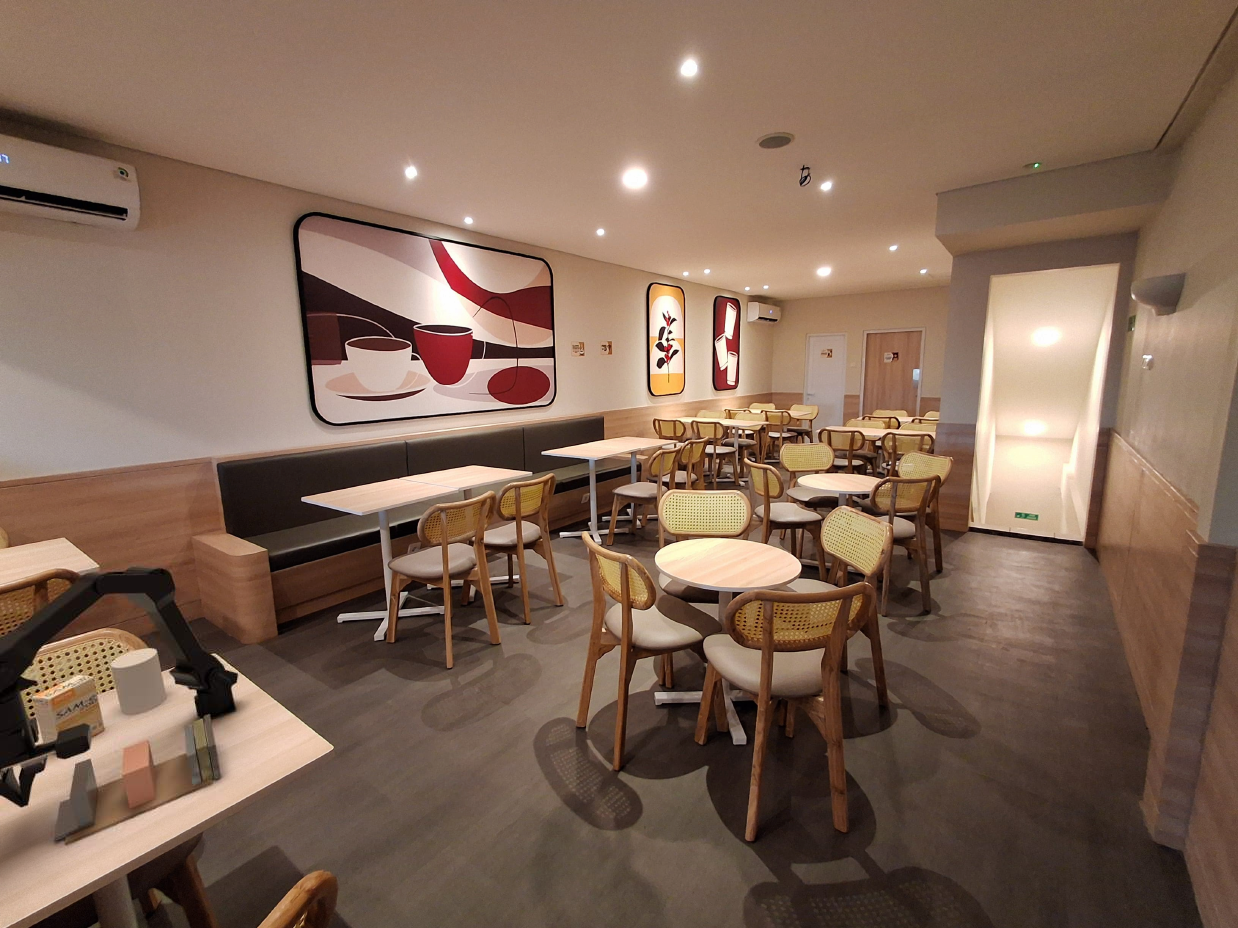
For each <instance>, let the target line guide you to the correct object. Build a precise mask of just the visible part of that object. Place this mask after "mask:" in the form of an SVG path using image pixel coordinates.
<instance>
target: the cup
mask: <svg viewBox="0 0 1238 928" xmlns="http://www.w3.org/2000/svg"><path fill="white" fill-rule="evenodd" d="M110 662H111V663H110V668H111V672H112V673H111V674H112V677H113V678H112V679H113V681H114V685H115V690H116V695H117V697H118V702H119V707H120V712H121V714H123V715H126V716H128V715H129V716H131V715H139V714H142V713H146V712H147V711H151V710H152V709H155V708H156V707H158V706H160V705H162V704H163V703H164V702H165V700H166V699H167V692H166V688H165V687H166V686H165V683H164V678H163V674H162V669H161V664H160V660H159V655H158V651H157V648H149V647H148V648H147V647H146V648H140V649H136V650H133V651H130V652H126V653H125V654H121V655H120V656H118V657H117V658H115V659H113V660H112V661H110Z"/></svg>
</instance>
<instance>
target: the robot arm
mask: <svg viewBox="0 0 1238 928" xmlns="http://www.w3.org/2000/svg"><path fill="white" fill-rule="evenodd" d="M176 590H177V587H176V584H175V581H174V577H173V574H172V573H171V572H170V571H169V570H168V569H167V568H161V567H151V566H139V565H136V566H135V565H134V566H131V567H129V568H127V569H126V570H122V571H121V570H120V571H119V570H118V571H104V572H96V571H95V572H94V571H91V572H87V573H85V574H82V575H80V577H79V578H78V579H77V581H76V582H75V583H73V584H72V585H71V586H70V587H68V588H66V590H64V591H63V592H62V593H60V594H59V595H58V596H57V597H55V598H54V599H53V600H51V601H50V602H49V603H47V604H46V605H44V607H42V608H41V609H39V611H37V612H36V613H35V614H33V615H32V616H30V617H29V618H28V619H27V620H25V621H24V622H23V623H21V624H19V626H17V627H16V628H15V629H13V630H12V631H10V632H8V633H7V634H4V635H2V636H0V797H3V798H5V799H6V800H7V801H9V802H10V803H13V804H15V805H16V806H17V807H19V808H25V807H27V806H29V804H30V799H31V794H32V793H31V792H32V788H33V783H34V780H35V778H36V775H38V774H40V773H42V772H44V771H45V769H46V766H47V763H48V758H49V755H52V754H53V753H55V752H56V754H55V755H56V757H57V759H60V760H61V759H62V760H67V759H70V758H73V757H76V756H79V755H81V754H85V753H87V752H88V751H89V750H91V747H92V740H93V736H92V731H91V727H90V725H88V724H85V723H84V724H80V725H77V726H74V727H71V728H68V729H65V730H62V731H59V732H58V735H57V740H55V741H52V742H49V743H46V744H45V743H43V742H42V743H39V744H36V743H38V742H39V739H40V738H39V735H40V732H39V731H40V729H39V727H38V726H39V724H38V720H37V716H33V717H29V715H28V713H27V709H26V706H25V702H24V699H23V696H22V692H23V691H25V690H27V689H30V688H31V687H34V686H36V685H37V684H38V680H35V679H29V678H25V677H23V676H22V675H23V674H24V673H25V672H26V671H27V670H28V668H30V667H31V665H32V664H33V662H34V660H35V658H36V656H37V654H38V652H39V651H40V650H41V649H42V648H43V647H44V646H45V645H46V644H47V643H49V642H50V641H51V640H53V638H55V637H56V636H57V635H59V634H60V633H61V632H62V631H63V630H64V629H66V628H67V627H68V626H69V625H70V624H72V623H74V621H75V620H76V619H78V618H79V617H80V616H81V615H83V614H84V613H85V612H86V611H88V609H90V608H91V607H93V606H94V605H95V604H96V603H97V602H98V601H100V600H102V598H104V597H105V596H107V595H114V594H115V595H116V594H121V595H122V594H123V595H124V596H125V597H126V598H127V599H128V600H129V601H130V602H132V603H134V604H135V605H137V606H138V607H139V608H141V609H143V610H144V611H145V612H146V614H147V616H148V617H149V618H150V620H151V622H152V624H153V625H154V626H155V628H156V630H157V632H158V633H159V635H160V636H161V637H162V639H163V641H164V643H165V644H166V645H167V648H168V649H169V651H170V652H171V654H172V655H173V657H174V658H175V665H174V667H173V668H172V669H170V670H169V671H168V673H169V675H170V676H172V678H173V680H174V684H175V685H180V686H183V687H186V688H187V689H188V690H190V691H191V690H193V691H196V692H195V693H196V694H195V695H194V696H193V699H194V706H195V711H196V715H197V718H200V719H203V722H204V723H205V721H204V716H205V715H208V714H210V718H211V720H213V719H216V718H219V717H221V716H222V717H223V716H224V715H226V714H230V713H232V712H235V711H236V710H237V706H236V702H235V699H234V695H233V689H232V687H233V686H234V685H235V684H237V683H238V678H239V673H238V672H235V671H232V670H227V669H226V668H225V665H224V664H223V663H222V661H220V660H219V658H217V657H216V656H215V655H213V654H211V653H210V652H208V651H207V650H205V649H204V648H203V647H202V646H201V643H200V642H199V640H198V638H197V636H196V635H195V633H194V632H193V630H192V628H191V626H190V625H189V623H188V621H187V620H186V618H185V616H184V614H183V612H182V610H181V609H180V607H179V605H178V604H177V601H175V596H176ZM17 766H19V767H20V768H21V769H20V772H19V774H18V779H17V777H16V776H15V775H16V774H15V772H14V768H15V767H17Z"/></svg>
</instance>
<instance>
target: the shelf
mask: <svg viewBox="0 0 1238 928" xmlns="http://www.w3.org/2000/svg"><path fill="white" fill-rule="evenodd" d="M204 721H205V722H203V719H201V718H200V719H197V720H194V721H192V723H190V724H189V723H188V724H187V725H184V726H183V732H184V741H185V749H186V753H183V754H180V755H178V756H175V757H173V758H172V757H171V758H170V759H168V760H165V761H163V762H159V763H157V764H154V767H155V777H156V798H155V799H153V800H150V801H148V802H146V803H143V804H141V805H138V806H136V807H133V808H131V809H130V807H129V802H128V798H127V794H126V790H125V785H124V781H123V777H121V778H118V779H115V780H112V781H110V782H107V783H104V784H101V785H99V786H97V787H98V800H97V809H96V818H95V825H93V826H91V827H88V828H86V829H83V830H81V831H78V832H76V833H74V834H71V835H69V836H66V837H65V841H64V845H65V846H67V845H70V844H73V843H75V842H77V841H80V840H82V839H84V838H87V837H90V836H91V835H94V834H97V833H99V832H101V831H103V830H106V829H108V828H111V827H113V826H116V825H118V824H119V823H123V822H124V821H127V820H129V819H132V818H134V817H137V816H139V815H142V814H144V813H147V812H149V811H151V810H153V809H156V808H158V807H161V806H163V805H165V804H167V803H170V802H172V801H176V800H177V799H180V798H182V797H185V796H186V795H189V794H191V793H194V792H196V791H198V790H201V789H203V788H206V787H208V786H210V785H213V779H212V778H214V779H217V778H220V777H222V774H221V773H222V771H221V768H220V762H219V756H218V751H217V745H216V740H215V735H214V730H213V724H212V719H211V718H210V714H208V715H205V716H204Z"/></svg>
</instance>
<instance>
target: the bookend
mask: <svg viewBox="0 0 1238 928" xmlns="http://www.w3.org/2000/svg"><path fill="white" fill-rule="evenodd" d="M70 786H71V787H70V791H69V798H68V799H66V800H62V801H61V802H60V803H59V808H58V812H57V818H56V822H55V823H56V824H55V828H54V833H53V837H52V839H53V842H56V841H59V840H61V839H63V838H66V836H69V835H71V834H74V833H76V832H78V831H81V830H83V829H86V828H88V827H91V826H93V825H95V818H96V809H97V800H98V787H99V786H98V783H97V780H96V776H95V771H94V767H93V763H92V759H91V758H88V759H85V760H82V761H80V762H77V763H75V764H74V771H73V774H72V781H71V785H70Z"/></svg>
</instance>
